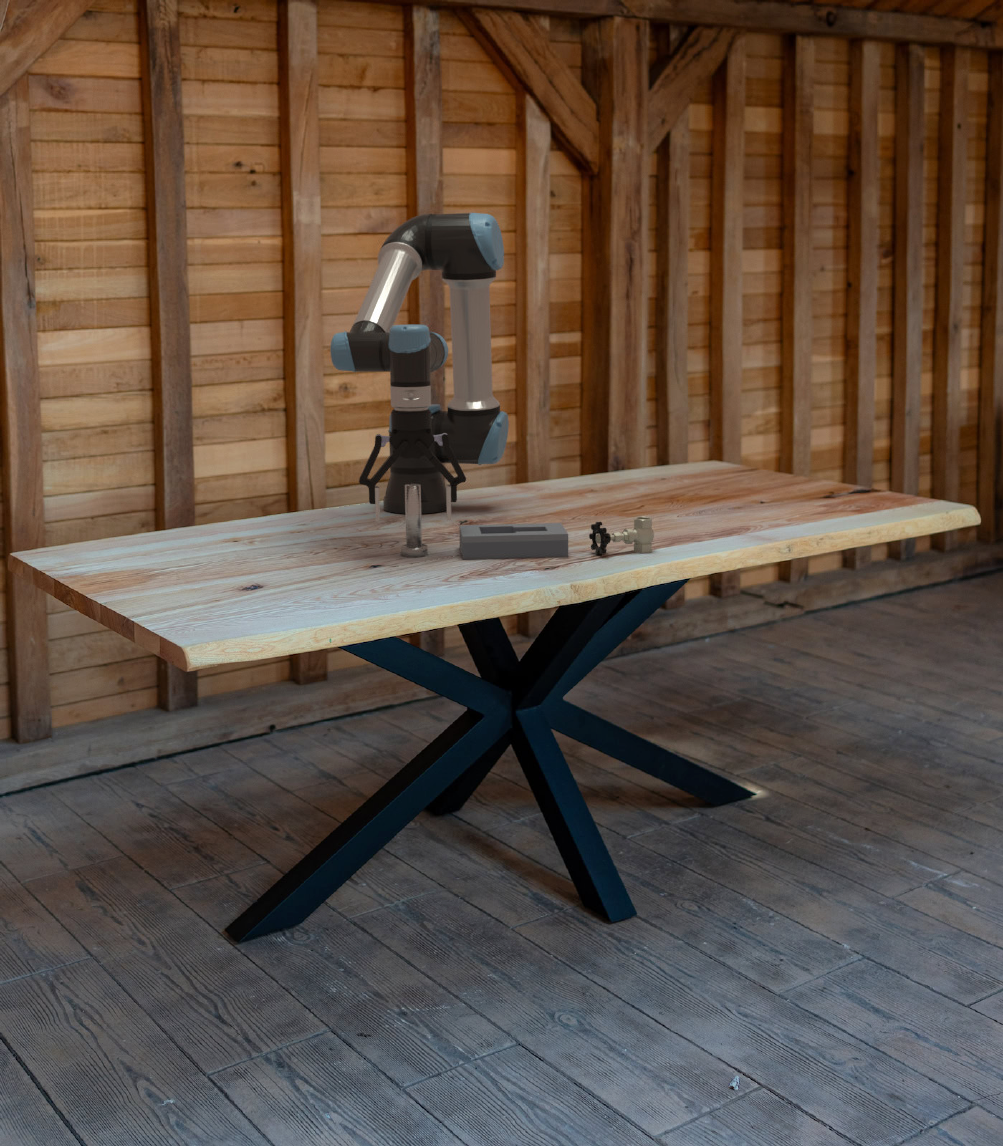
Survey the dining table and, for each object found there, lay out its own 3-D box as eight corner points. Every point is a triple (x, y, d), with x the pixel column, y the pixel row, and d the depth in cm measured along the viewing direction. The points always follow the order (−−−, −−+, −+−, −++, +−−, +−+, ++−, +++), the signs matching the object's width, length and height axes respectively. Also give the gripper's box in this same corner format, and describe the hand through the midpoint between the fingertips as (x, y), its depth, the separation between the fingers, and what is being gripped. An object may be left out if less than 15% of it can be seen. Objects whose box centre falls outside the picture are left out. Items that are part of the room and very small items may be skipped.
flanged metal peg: (395, 555, 259) (393, 485, 256) (413, 550, 263) (411, 482, 259) (415, 558, 255) (413, 488, 252) (433, 553, 259) (432, 484, 256)
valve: (644, 547, 264) (588, 552, 260) (644, 514, 263) (589, 519, 259) (660, 554, 258) (603, 559, 254) (660, 520, 257) (604, 525, 253)
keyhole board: (463, 559, 254) (462, 536, 253) (459, 547, 265) (459, 525, 264) (568, 556, 256) (568, 533, 255) (560, 544, 267) (560, 522, 266)
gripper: (343, 411, 248) (347, 525, 253) (478, 409, 250) (480, 522, 255) (344, 407, 255) (348, 517, 260) (476, 405, 257) (477, 514, 262)
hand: (413, 520), depth 257 cm, fingers open, 13 cm apart
